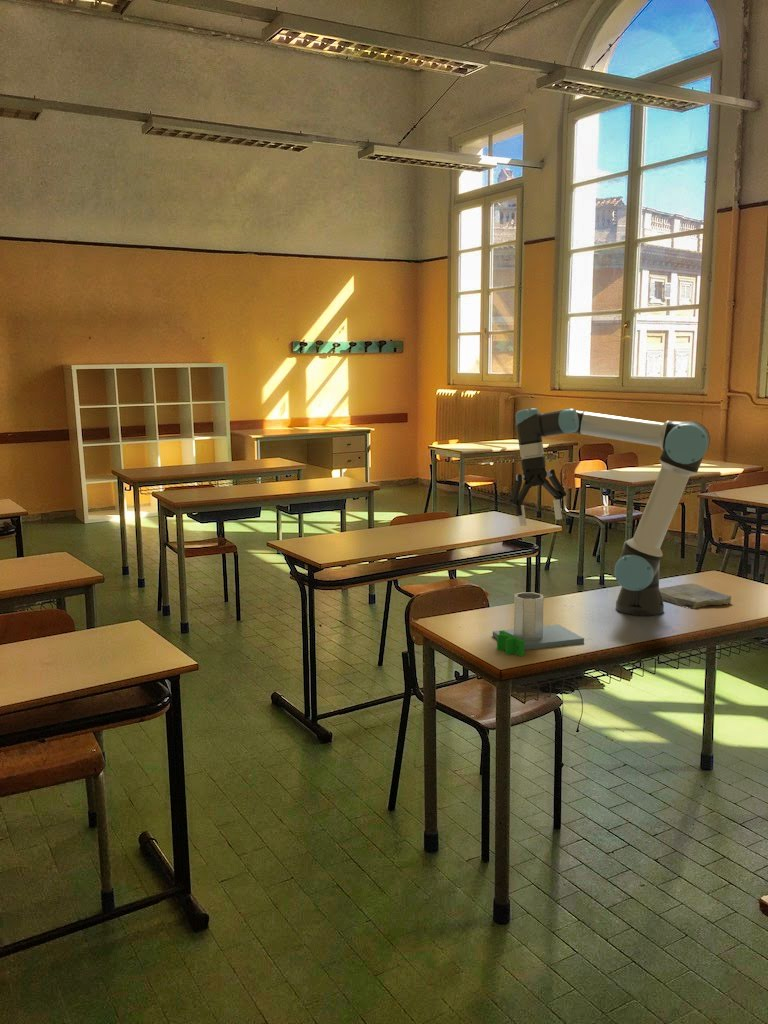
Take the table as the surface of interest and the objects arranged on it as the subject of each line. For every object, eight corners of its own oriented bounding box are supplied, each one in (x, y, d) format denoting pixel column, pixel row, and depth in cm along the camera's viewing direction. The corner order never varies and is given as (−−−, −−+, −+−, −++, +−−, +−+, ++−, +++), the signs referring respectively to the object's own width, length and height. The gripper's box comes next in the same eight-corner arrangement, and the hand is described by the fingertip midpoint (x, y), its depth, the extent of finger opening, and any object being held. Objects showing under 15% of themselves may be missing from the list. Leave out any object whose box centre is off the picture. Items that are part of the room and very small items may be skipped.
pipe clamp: (491, 647, 246) (491, 631, 245) (502, 645, 248) (502, 630, 247) (512, 658, 236) (512, 642, 235) (524, 656, 238) (524, 640, 237)
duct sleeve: (527, 630, 257) (528, 591, 255) (548, 636, 250) (549, 596, 248) (508, 635, 252) (508, 595, 250) (529, 641, 245) (529, 600, 243)
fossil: (696, 614, 282) (734, 605, 289) (695, 601, 281) (734, 592, 288) (653, 602, 300) (691, 593, 307) (653, 589, 299) (690, 581, 306)
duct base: (558, 629, 262) (558, 603, 261) (584, 643, 248) (584, 616, 247) (492, 636, 256) (492, 610, 254) (515, 651, 242) (515, 623, 240)
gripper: (558, 453, 284) (566, 517, 285) (493, 462, 275) (502, 528, 275) (571, 451, 277) (580, 516, 278) (505, 460, 268) (514, 528, 268)
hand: (541, 522), depth 277 cm, fingers open, 13 cm apart
